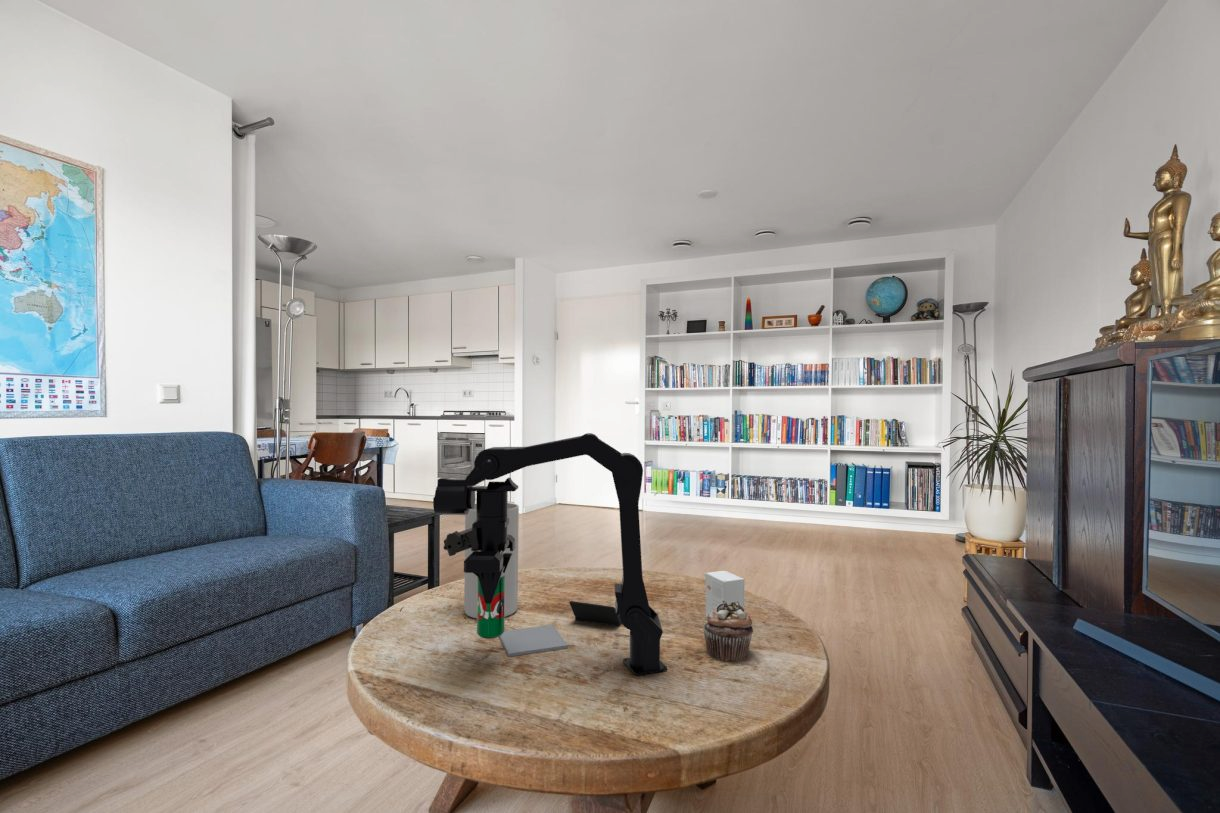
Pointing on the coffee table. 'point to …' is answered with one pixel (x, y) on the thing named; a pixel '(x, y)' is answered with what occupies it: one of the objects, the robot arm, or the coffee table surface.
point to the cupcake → (728, 632)
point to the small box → (723, 589)
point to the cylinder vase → (510, 572)
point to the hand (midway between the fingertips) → (491, 598)
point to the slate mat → (532, 640)
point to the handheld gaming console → (595, 613)
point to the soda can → (491, 612)
